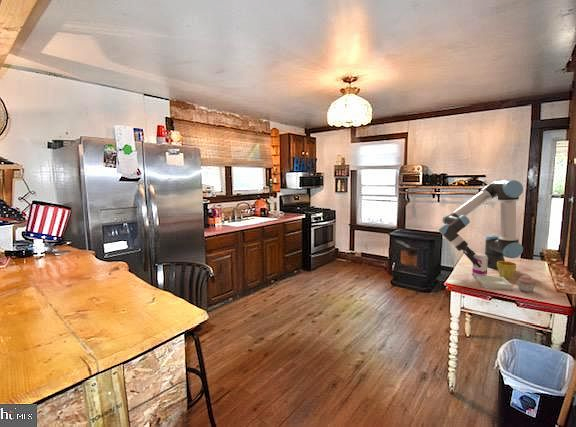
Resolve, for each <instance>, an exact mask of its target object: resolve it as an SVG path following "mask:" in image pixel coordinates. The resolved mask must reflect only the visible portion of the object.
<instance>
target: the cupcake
mask: <svg viewBox="0 0 576 427" xmlns="http://www.w3.org/2000/svg"><path fill="white" fill-rule="evenodd" d="M515 282H516V284H517V286H518V290H519V291H521V292H523V293H533V291H534V289H535V287H536V286H537V283H535V278H533V277H531V276H530V275H529V274H527V273H525V275H520V277H518V280H516V281H515Z"/></svg>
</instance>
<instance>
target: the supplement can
mask: <svg viewBox="0 0 576 427" xmlns="http://www.w3.org/2000/svg"><path fill="white" fill-rule="evenodd" d="M474 258H475V259H476V260H477V261H478V262H479V263H480V264H481V265H482V266H483V267H484V268H486V270H485V271H483V272H482V271H481V270H480V269H479V268H478V267H477V266H476V265H475V264H474V265H473V264H472V272H471V273H472V274H471V275H472V276H473V277H474V278H476V279H477V275H481V276H488V267H487V265H488V257H487V255H485V253H484V254H483V253H476V254H474Z"/></svg>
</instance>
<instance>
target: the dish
mask: <svg viewBox="0 0 576 427" xmlns="http://www.w3.org/2000/svg"><path fill="white" fill-rule="evenodd" d="M476 281H477V282H478V283H479V284H480V286H482V288H485V289H486V288H487V289H495V290H508V291H512V290H513V284H511V282H510V281H508V279H505V278H504V277H500V276H494V275H492V276H491V275H487V276H481V275H477V278H476Z"/></svg>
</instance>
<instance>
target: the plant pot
mask: <svg viewBox="0 0 576 427" xmlns="http://www.w3.org/2000/svg"><path fill="white" fill-rule="evenodd" d="M497 267H498V268H497V270H498V277H504V278H505V279H506V280H510V279H513V277H514V273H515V271H516V270H517V263H515V262H513V261H506V260H505V261H498V262H497Z"/></svg>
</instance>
